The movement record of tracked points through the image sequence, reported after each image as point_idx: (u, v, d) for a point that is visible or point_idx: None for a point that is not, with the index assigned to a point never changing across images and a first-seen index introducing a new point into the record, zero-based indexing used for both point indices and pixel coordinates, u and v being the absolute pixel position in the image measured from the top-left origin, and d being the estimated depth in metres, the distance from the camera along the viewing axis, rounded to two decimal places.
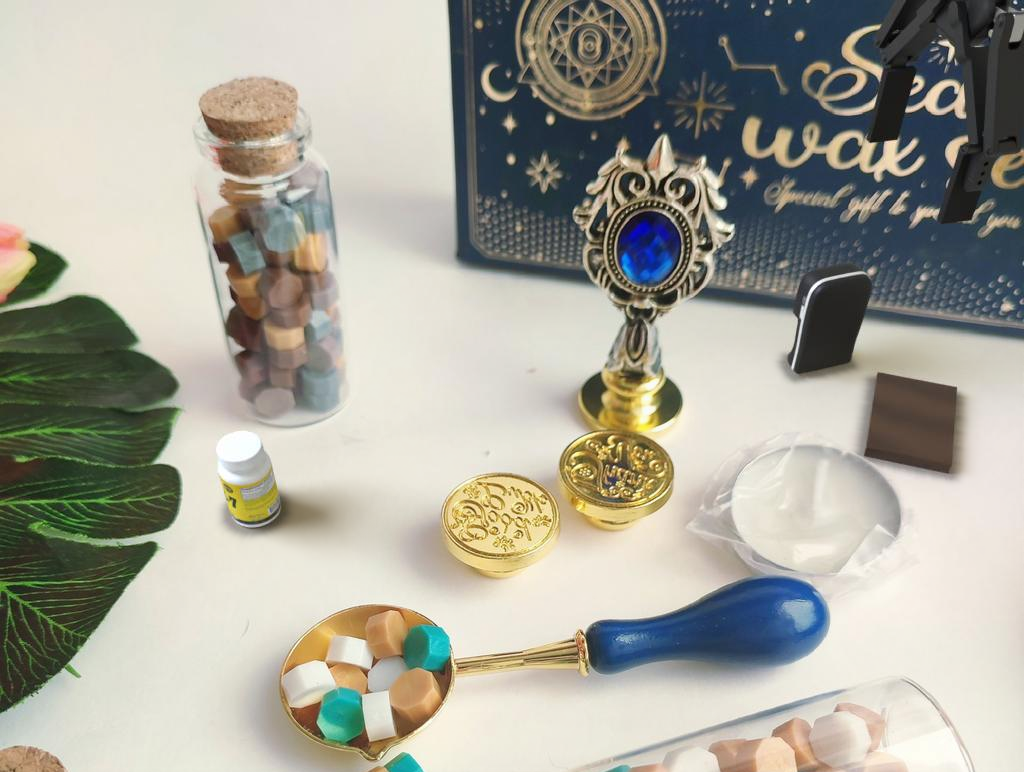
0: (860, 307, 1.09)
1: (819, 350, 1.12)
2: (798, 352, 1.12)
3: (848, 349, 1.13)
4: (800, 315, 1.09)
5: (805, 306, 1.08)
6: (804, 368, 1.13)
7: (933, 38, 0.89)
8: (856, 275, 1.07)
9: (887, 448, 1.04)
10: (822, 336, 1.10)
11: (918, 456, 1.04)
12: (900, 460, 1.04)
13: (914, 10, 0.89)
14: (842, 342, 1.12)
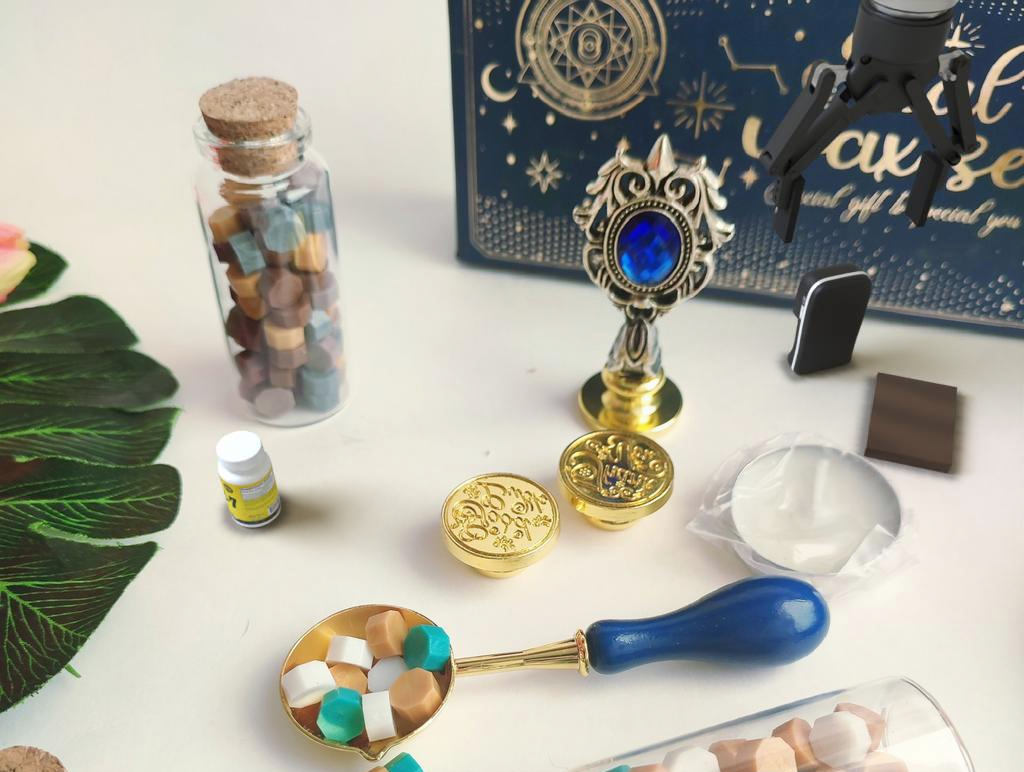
0: (860, 307, 1.09)
1: (819, 350, 1.12)
2: (798, 352, 1.12)
3: (848, 349, 1.13)
4: (800, 315, 1.09)
5: (805, 306, 1.08)
6: (804, 368, 1.13)
7: (927, 130, 0.96)
8: (856, 275, 1.07)
9: (887, 448, 1.04)
10: (821, 335, 1.10)
11: (918, 456, 1.04)
12: (900, 460, 1.04)
13: (952, 108, 0.96)
14: (842, 342, 1.12)
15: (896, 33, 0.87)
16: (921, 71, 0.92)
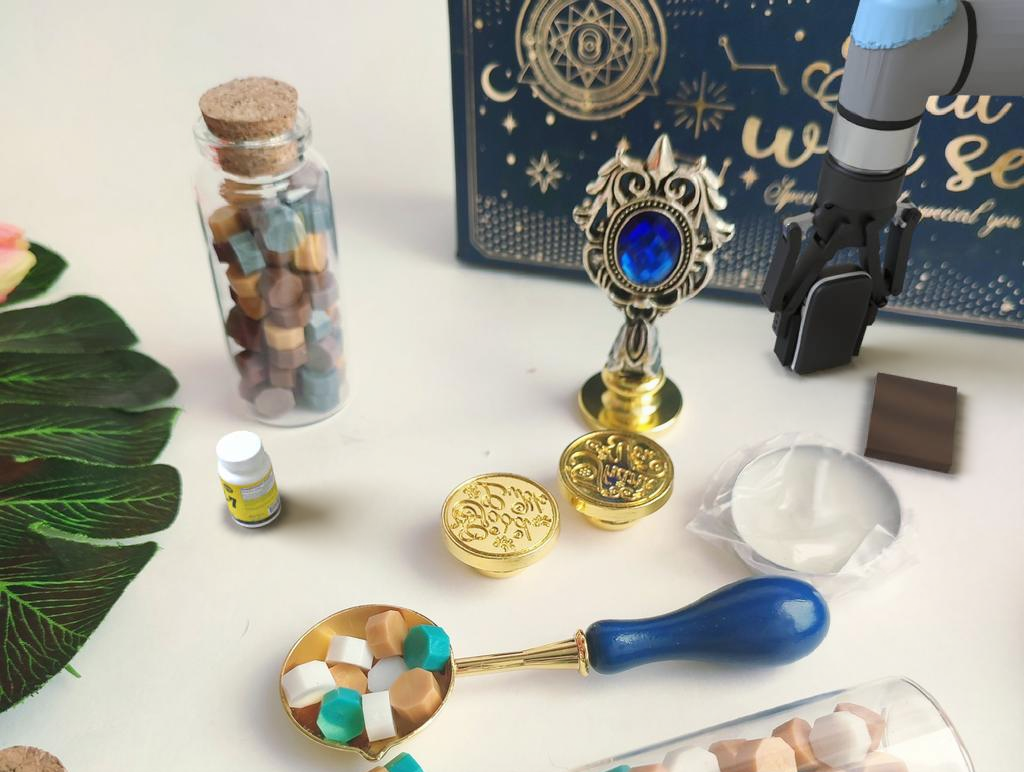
0: (861, 307, 1.09)
1: (819, 350, 1.12)
2: (798, 352, 1.12)
3: (848, 349, 1.13)
4: (801, 314, 1.09)
5: (806, 305, 1.08)
6: (804, 368, 1.13)
7: (868, 269, 1.07)
8: (857, 275, 1.07)
9: (887, 448, 1.04)
10: (822, 335, 1.10)
11: (918, 456, 1.04)
12: (900, 460, 1.04)
13: (892, 252, 1.07)
14: (842, 342, 1.12)
15: (855, 187, 0.97)
16: (881, 210, 1.02)
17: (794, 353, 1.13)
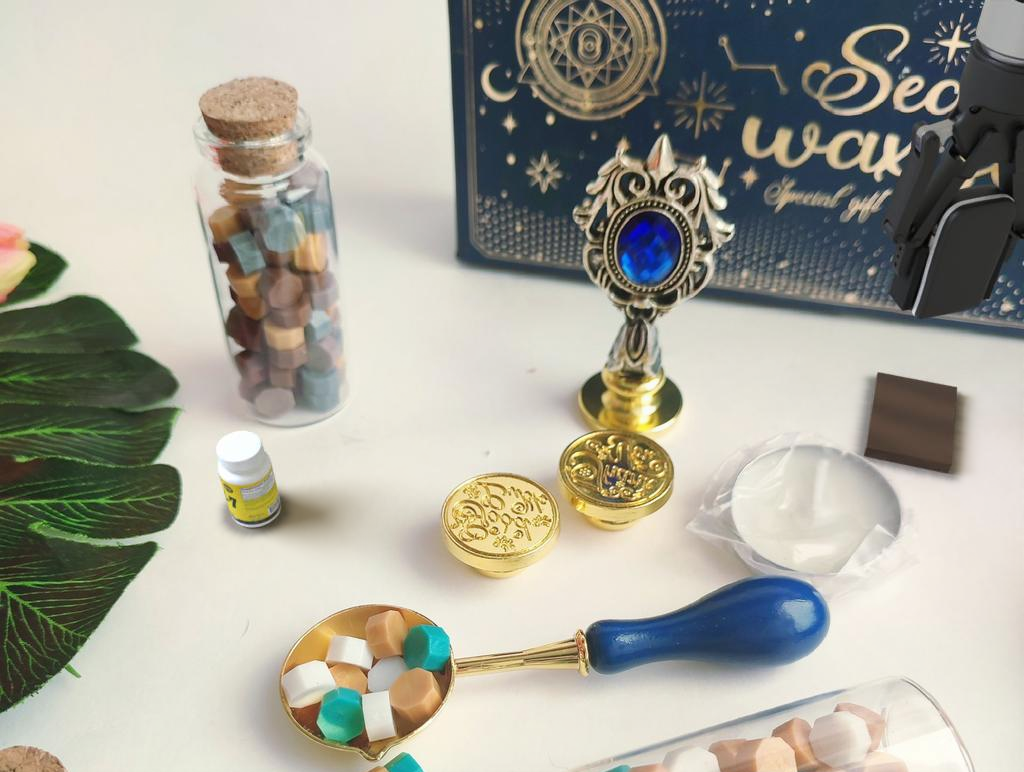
0: (1000, 238, 0.92)
1: (947, 290, 0.95)
2: (923, 292, 0.95)
3: (980, 290, 0.96)
4: None
5: (936, 235, 0.91)
6: (928, 312, 0.96)
7: (1011, 192, 0.90)
8: (999, 198, 0.90)
9: (887, 448, 1.04)
10: (952, 272, 0.94)
11: (918, 456, 1.04)
12: (900, 460, 1.04)
13: None
14: (974, 281, 0.95)
15: (1012, 82, 0.80)
16: None
17: (916, 295, 0.96)
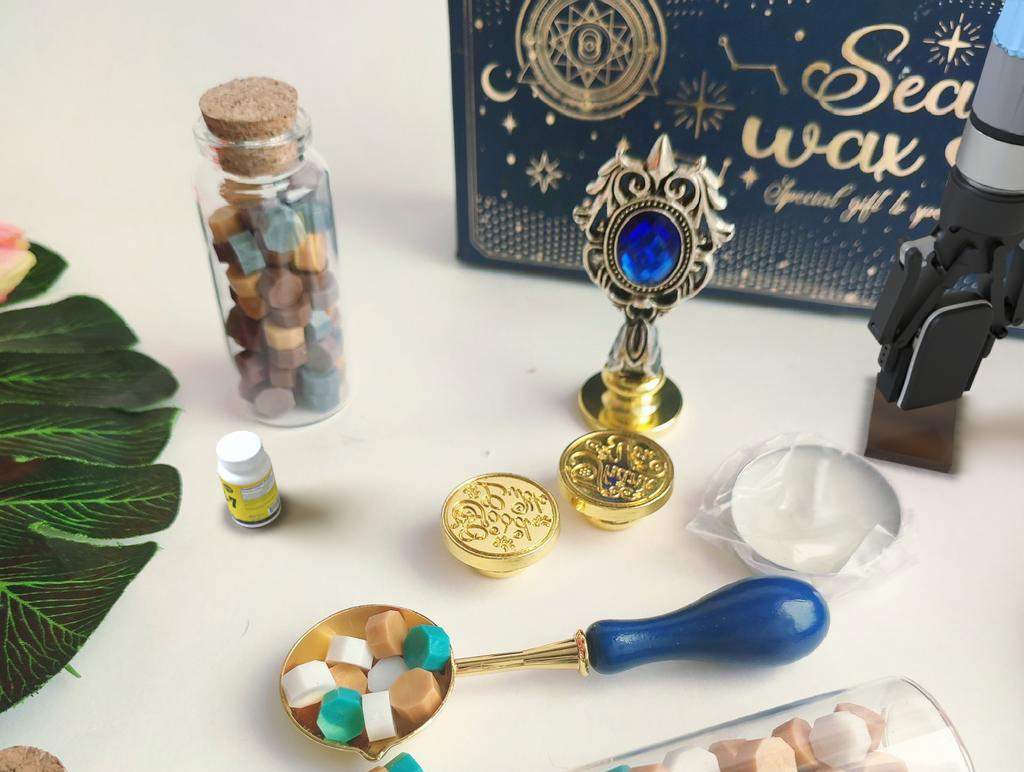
0: (979, 339, 0.99)
1: (930, 385, 1.01)
2: (907, 387, 1.01)
3: (961, 384, 1.03)
4: None
5: (919, 338, 0.97)
6: (912, 404, 1.03)
7: (989, 298, 0.97)
8: (978, 304, 0.96)
9: (887, 448, 1.04)
10: (935, 370, 1.00)
11: (918, 456, 1.04)
12: (900, 460, 1.04)
13: (1016, 279, 0.97)
14: (955, 376, 1.01)
15: (989, 209, 0.87)
16: None
17: (901, 388, 1.02)
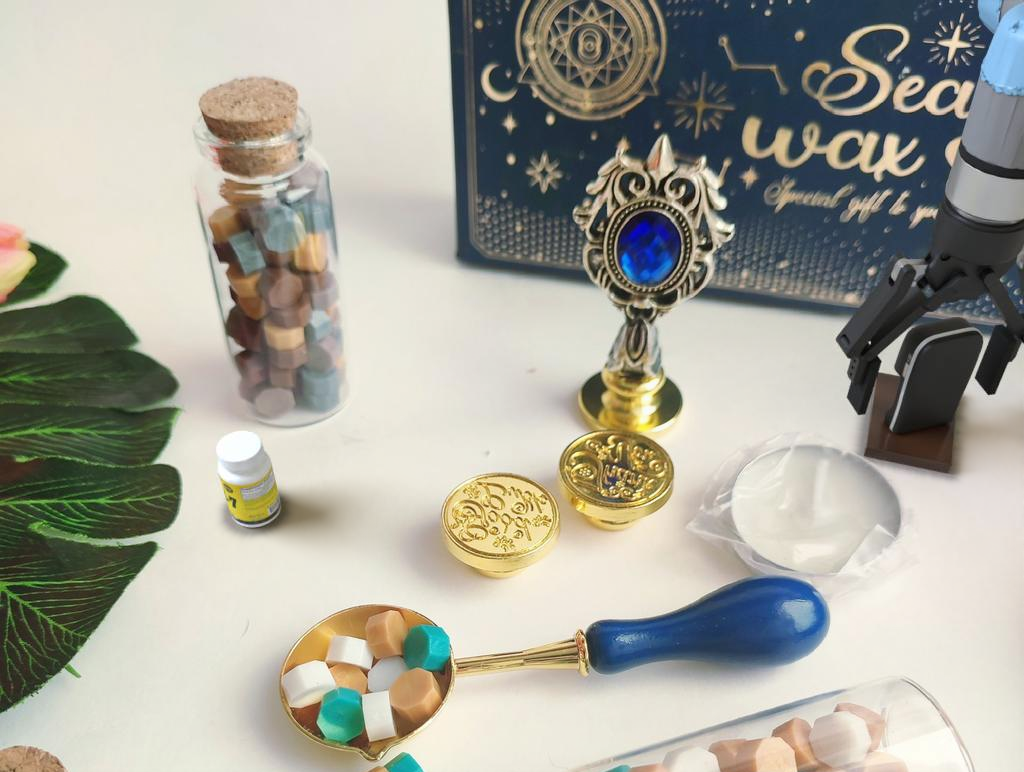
0: (969, 365, 1.01)
1: (922, 410, 1.03)
2: (899, 412, 1.04)
3: (952, 408, 1.05)
4: (903, 373, 1.01)
5: (910, 364, 1.00)
6: (904, 428, 1.05)
7: (1001, 312, 0.98)
8: (967, 331, 0.98)
9: (887, 448, 1.04)
10: (926, 395, 1.02)
11: (918, 456, 1.04)
12: (900, 460, 1.04)
13: None
14: (946, 401, 1.04)
15: (978, 238, 0.89)
16: (999, 264, 0.94)
17: (893, 413, 1.05)
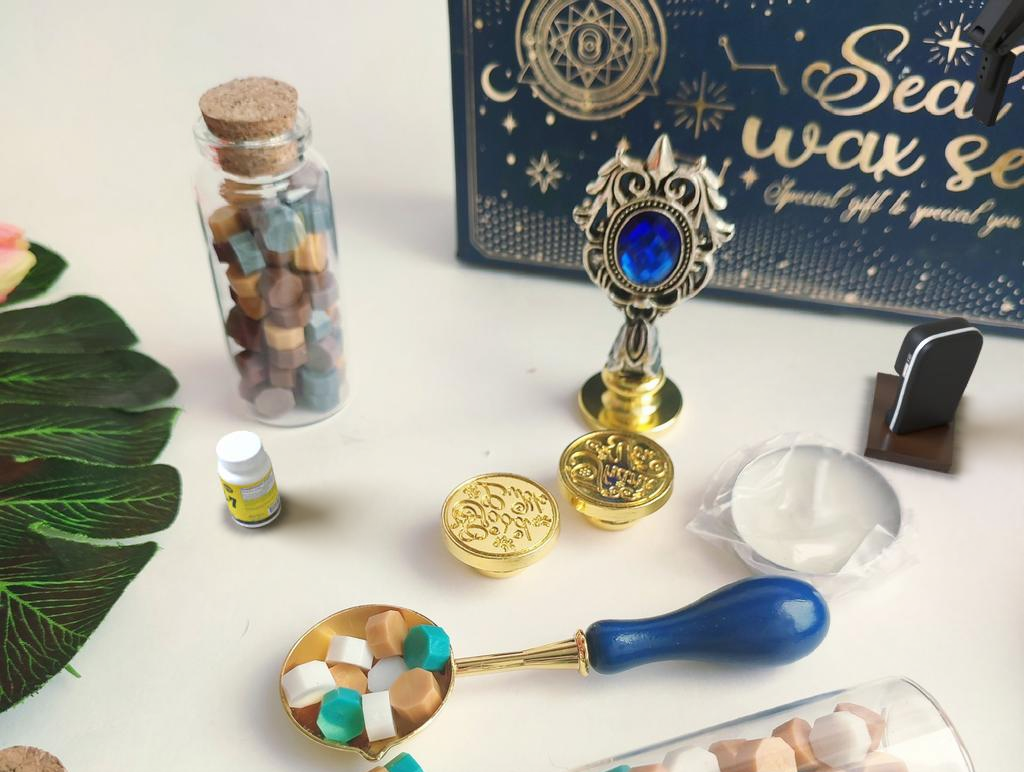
0: (969, 365, 1.01)
1: (922, 410, 1.03)
2: (899, 412, 1.04)
3: (952, 408, 1.05)
4: (903, 373, 1.01)
5: (910, 364, 1.00)
6: (904, 428, 1.05)
7: None
8: (967, 331, 0.98)
9: (887, 448, 1.04)
10: (926, 395, 1.02)
11: (918, 456, 1.04)
12: (900, 460, 1.04)
13: None
14: (946, 401, 1.04)
15: None
16: None
17: (893, 413, 1.05)
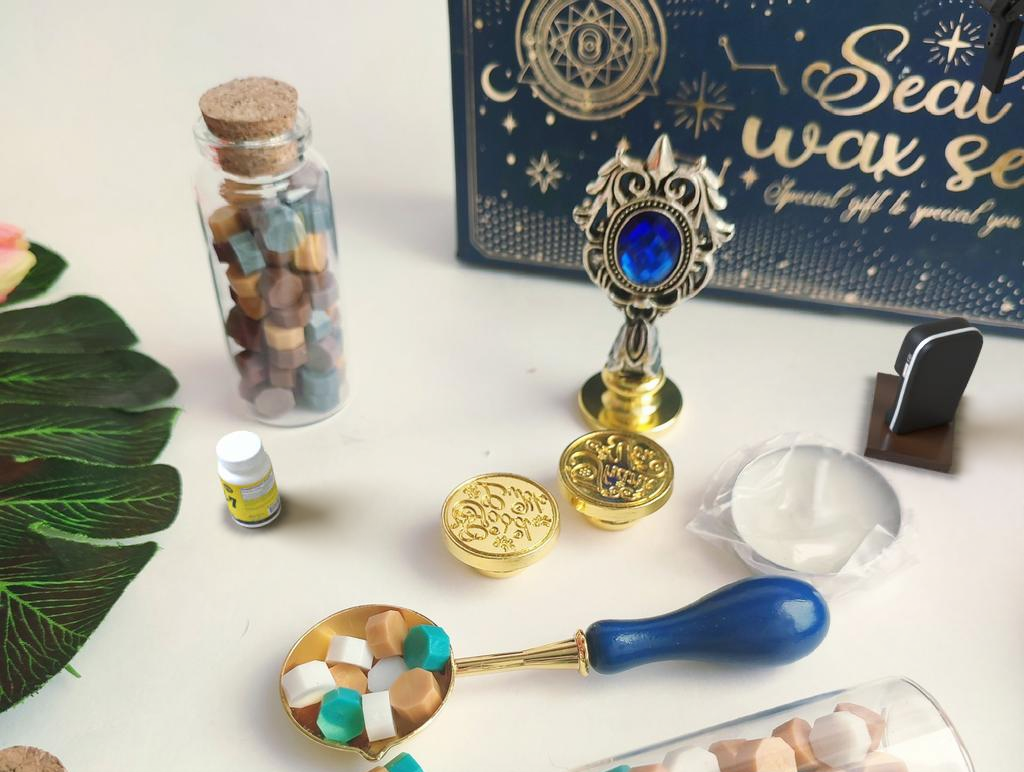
0: (969, 365, 1.01)
1: (922, 410, 1.03)
2: (899, 412, 1.04)
3: (952, 408, 1.05)
4: (903, 373, 1.01)
5: (910, 364, 1.00)
6: (904, 428, 1.05)
7: None
8: (967, 331, 0.98)
9: (887, 448, 1.04)
10: (926, 395, 1.02)
11: (918, 456, 1.04)
12: (900, 460, 1.04)
13: None
14: (946, 401, 1.04)
15: None
16: None
17: (893, 413, 1.05)
